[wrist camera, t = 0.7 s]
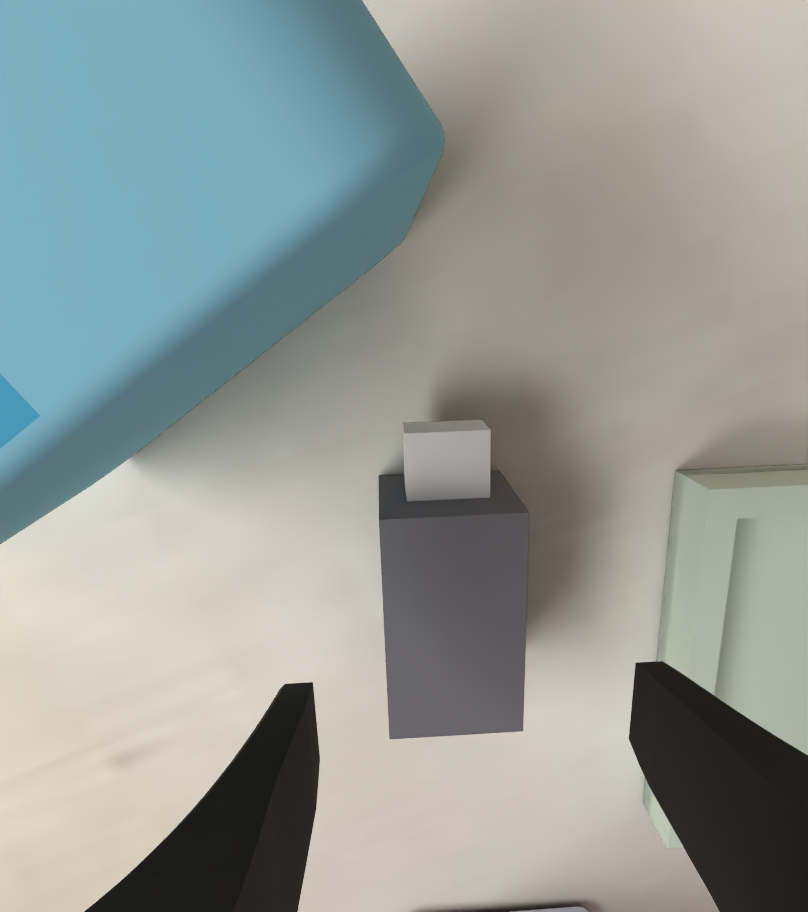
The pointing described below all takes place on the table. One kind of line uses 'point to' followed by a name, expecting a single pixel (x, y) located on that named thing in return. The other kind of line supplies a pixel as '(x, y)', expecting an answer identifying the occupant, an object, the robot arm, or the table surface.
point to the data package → (179, 209)
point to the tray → (739, 598)
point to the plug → (453, 586)
